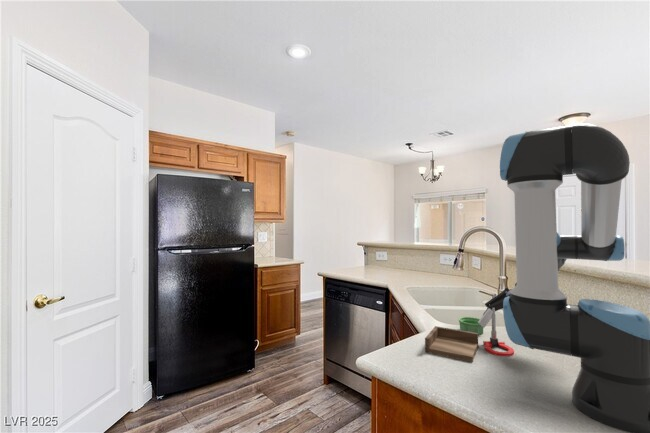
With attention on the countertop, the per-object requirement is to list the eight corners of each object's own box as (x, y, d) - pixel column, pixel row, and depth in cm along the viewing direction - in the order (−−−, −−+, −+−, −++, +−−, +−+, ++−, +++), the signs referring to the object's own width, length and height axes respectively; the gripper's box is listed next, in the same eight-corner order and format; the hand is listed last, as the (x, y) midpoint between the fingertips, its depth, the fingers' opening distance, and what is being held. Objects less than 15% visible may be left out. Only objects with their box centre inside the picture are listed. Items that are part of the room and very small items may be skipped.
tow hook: (519, 358, 97) (506, 345, 106) (518, 317, 96) (505, 307, 105) (490, 357, 98) (480, 344, 107) (489, 316, 98) (479, 307, 107)
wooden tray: (472, 362, 93) (472, 346, 93) (425, 352, 101) (425, 338, 101) (478, 346, 105) (477, 333, 105) (435, 338, 113) (435, 326, 113)
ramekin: (459, 334, 117) (458, 322, 117) (458, 326, 126) (458, 315, 126) (485, 337, 114) (485, 325, 114) (483, 329, 122) (483, 318, 122)
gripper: (575, 299, 94) (535, 354, 90) (509, 284, 118) (476, 326, 115) (560, 282, 93) (519, 337, 89) (497, 270, 117) (463, 313, 114)
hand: (495, 331), depth 102 cm, fingers open, 13 cm apart
